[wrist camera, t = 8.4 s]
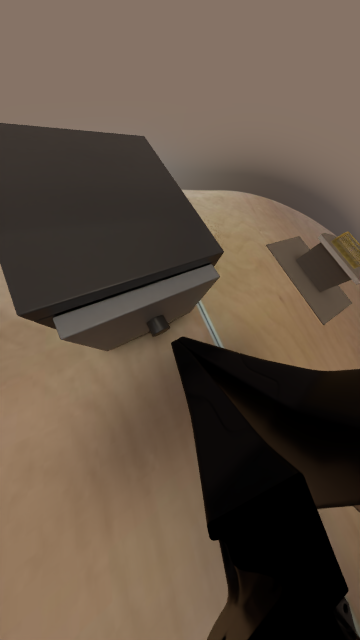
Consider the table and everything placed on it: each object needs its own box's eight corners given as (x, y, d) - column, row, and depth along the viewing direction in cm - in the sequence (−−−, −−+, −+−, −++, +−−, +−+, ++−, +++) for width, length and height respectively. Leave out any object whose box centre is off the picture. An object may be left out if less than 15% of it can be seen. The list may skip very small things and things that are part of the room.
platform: (299, 236, 29) (338, 203, 23) (352, 303, 26) (413, 285, 20) (266, 244, 25) (303, 208, 19) (323, 324, 22) (389, 311, 16)
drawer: (194, 320, 16) (229, 290, 9) (112, 362, 12) (68, 364, 6) (149, 242, 18) (149, 168, 11) (67, 259, 14) (-4, 169, 8)
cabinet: (187, 305, 17) (224, 251, 9) (99, 344, 13) (16, 316, 5) (146, 234, 19) (144, 135, 11) (59, 251, 15) (-48, 117, 7)
